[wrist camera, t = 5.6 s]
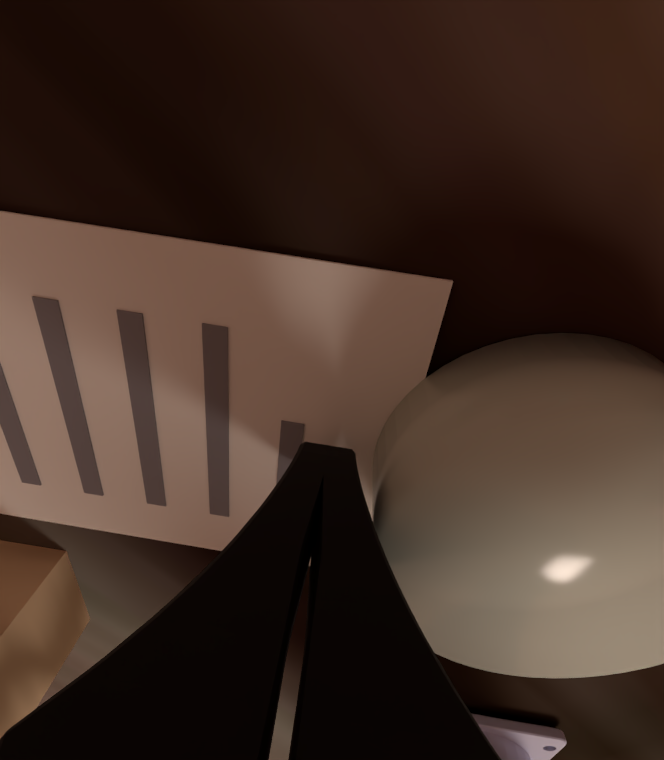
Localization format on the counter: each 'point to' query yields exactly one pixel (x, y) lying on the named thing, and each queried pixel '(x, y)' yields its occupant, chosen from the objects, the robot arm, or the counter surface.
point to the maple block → (34, 624)
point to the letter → (189, 373)
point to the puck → (531, 506)
